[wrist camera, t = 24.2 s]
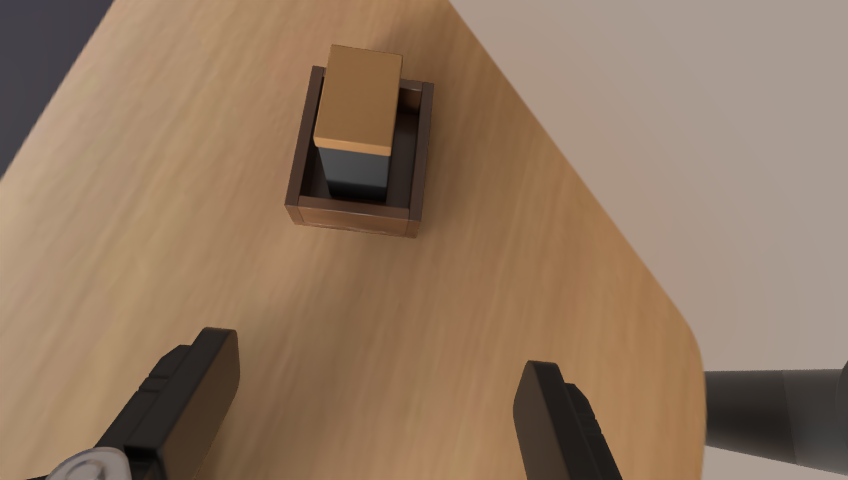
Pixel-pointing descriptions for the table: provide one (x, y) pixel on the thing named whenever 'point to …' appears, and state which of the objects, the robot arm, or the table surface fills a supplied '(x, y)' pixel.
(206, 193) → the table surface
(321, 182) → the holder
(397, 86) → the eraser
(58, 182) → the table surface
